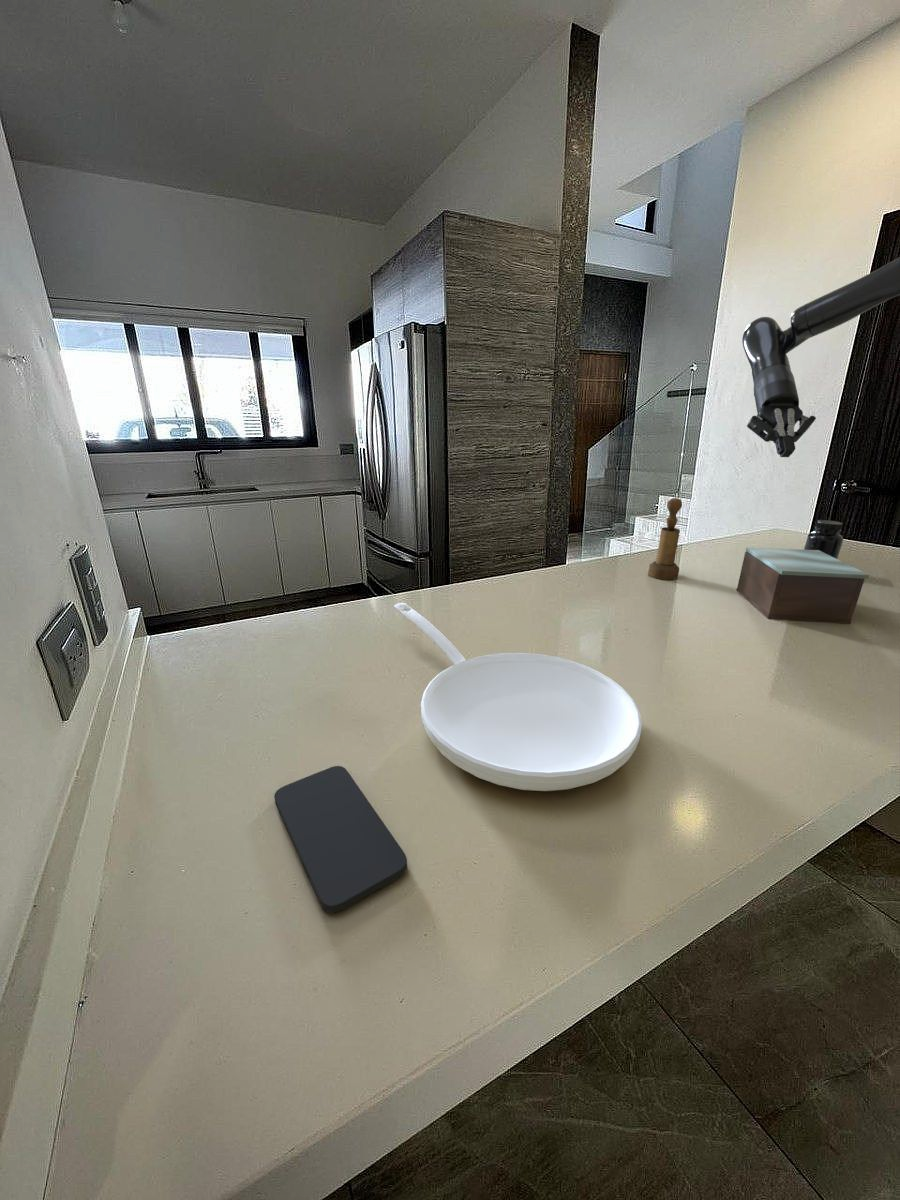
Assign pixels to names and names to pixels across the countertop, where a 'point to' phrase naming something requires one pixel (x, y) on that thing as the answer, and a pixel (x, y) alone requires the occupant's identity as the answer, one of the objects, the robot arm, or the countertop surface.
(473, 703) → the pan
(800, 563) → the glass lid
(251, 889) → the countertop surface
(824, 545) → the supplement bottle
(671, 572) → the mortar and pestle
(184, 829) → the countertop surface
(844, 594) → the case
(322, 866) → the phone
